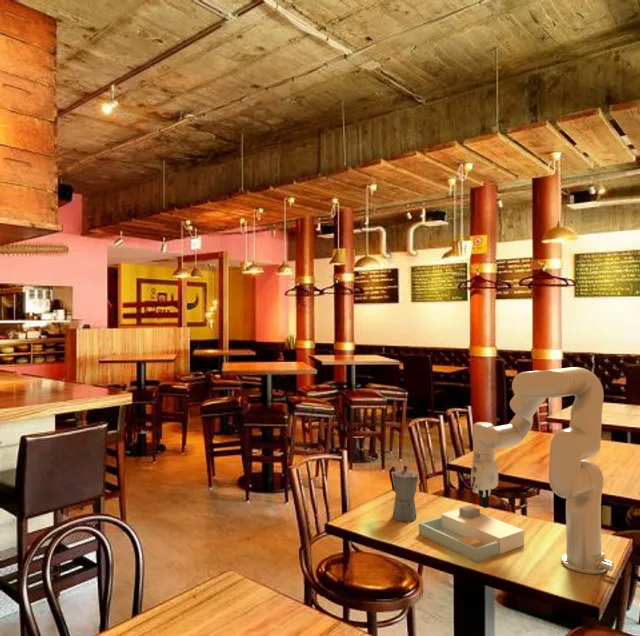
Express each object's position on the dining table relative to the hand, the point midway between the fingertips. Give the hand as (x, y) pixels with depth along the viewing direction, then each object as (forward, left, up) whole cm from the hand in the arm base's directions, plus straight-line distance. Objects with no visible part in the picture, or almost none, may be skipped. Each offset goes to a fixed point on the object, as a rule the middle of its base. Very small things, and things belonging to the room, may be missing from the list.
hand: (484, 506), depth 194 cm
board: (-6, +9, -7) cm, 13 cm away
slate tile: (0, +8, -2) cm, 8 cm away
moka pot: (+22, +20, -7) cm, 30 cm away
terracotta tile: (-12, +20, -4) cm, 24 cm away
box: (-6, +21, -7) cm, 23 cm away
